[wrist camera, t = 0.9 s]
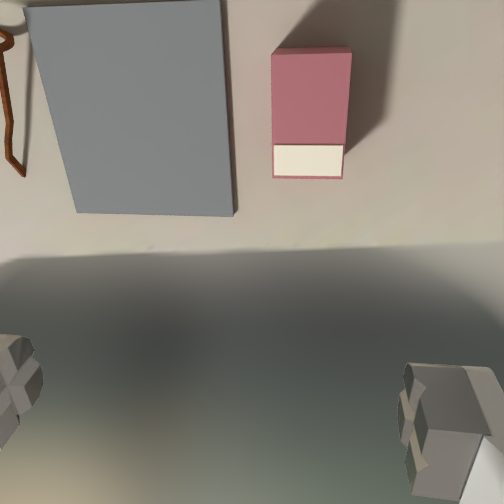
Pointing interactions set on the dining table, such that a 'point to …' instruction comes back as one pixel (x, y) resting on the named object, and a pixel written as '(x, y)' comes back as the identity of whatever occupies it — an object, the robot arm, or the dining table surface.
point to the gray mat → (138, 104)
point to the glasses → (8, 103)
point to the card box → (309, 111)
